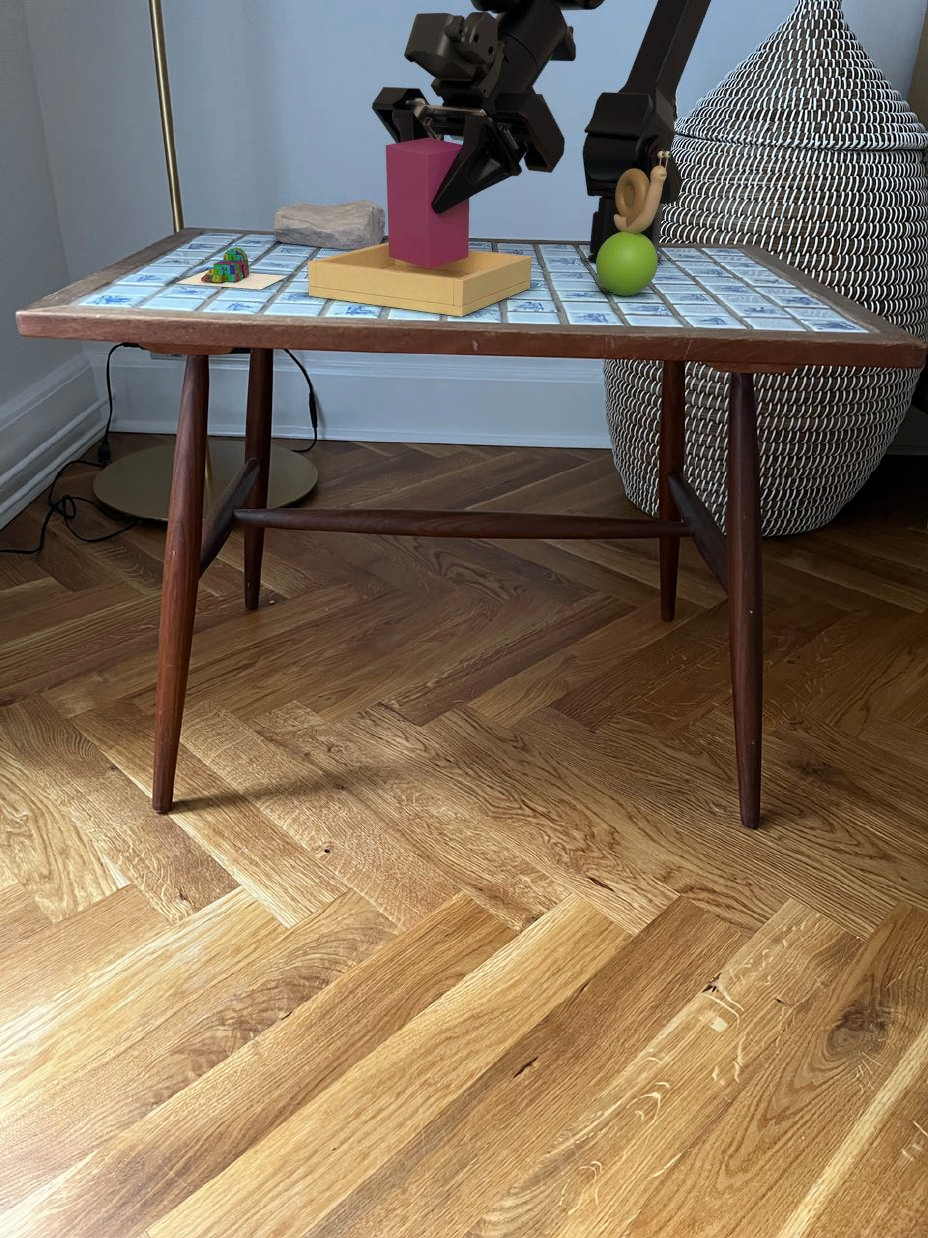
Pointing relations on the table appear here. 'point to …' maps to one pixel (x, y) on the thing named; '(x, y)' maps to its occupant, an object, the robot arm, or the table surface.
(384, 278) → the birch tray
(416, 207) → the mulberry block
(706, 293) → the table surface
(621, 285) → the snail figurine
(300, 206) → the stone block
